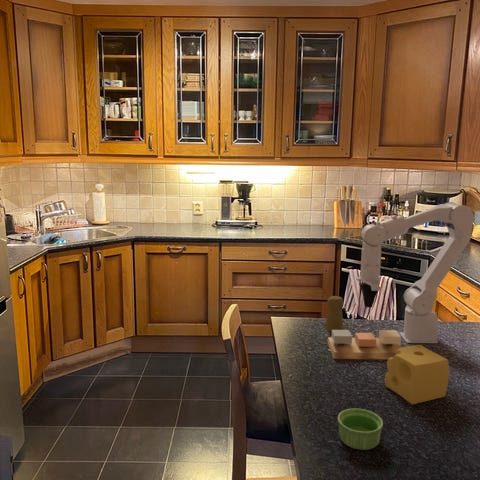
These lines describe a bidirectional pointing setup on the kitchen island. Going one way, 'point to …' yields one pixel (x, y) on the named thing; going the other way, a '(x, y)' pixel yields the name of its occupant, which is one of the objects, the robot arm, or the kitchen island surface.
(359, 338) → the button terracotta
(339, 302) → the butternut squash
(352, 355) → the button board
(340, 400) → the kitchen island surface
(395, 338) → the button cream
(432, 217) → the robot arm
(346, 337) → the button slate
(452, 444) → the kitchen island surface
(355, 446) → the ramekin
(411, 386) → the cheese
